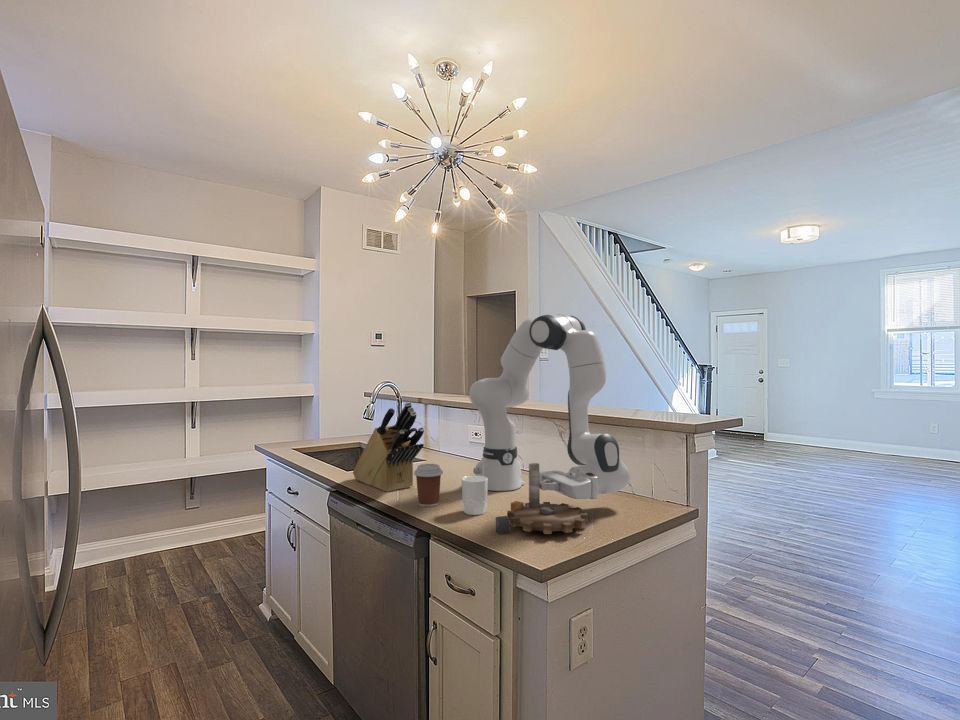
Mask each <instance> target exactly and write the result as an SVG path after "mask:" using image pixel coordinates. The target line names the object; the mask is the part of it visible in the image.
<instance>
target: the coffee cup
mask: <svg viewBox="0 0 960 720" xmlns="http://www.w3.org/2000/svg"><path fill="white" fill-rule="evenodd" d="M443 473H444V471H443V469H441V468H440V465H439V464H436V463H423V464H419V465H417V468H416V470H414V471H413V476H415V478H416V487H417V488H416V489H417V499H418V500H417V502H418V506H420V505H421V506H420V507H424V506H431V507H436V506H438V505H439V504H440V492H441V491H440V490H441V489H440V488H441V477H442V475H443ZM437 504H438V505H437ZM435 505H436V506H435Z"/></svg>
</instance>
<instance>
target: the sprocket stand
mask: <svg viewBox="0 0 960 720" xmlns="http://www.w3.org/2000/svg"><path fill="white" fill-rule="evenodd" d="M495 533H496V534H497V535H500V534H501V535H507V534H510V520H509V517H507V515H503V516H501V515H500V516H495ZM506 533H507V534H506Z"/></svg>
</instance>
